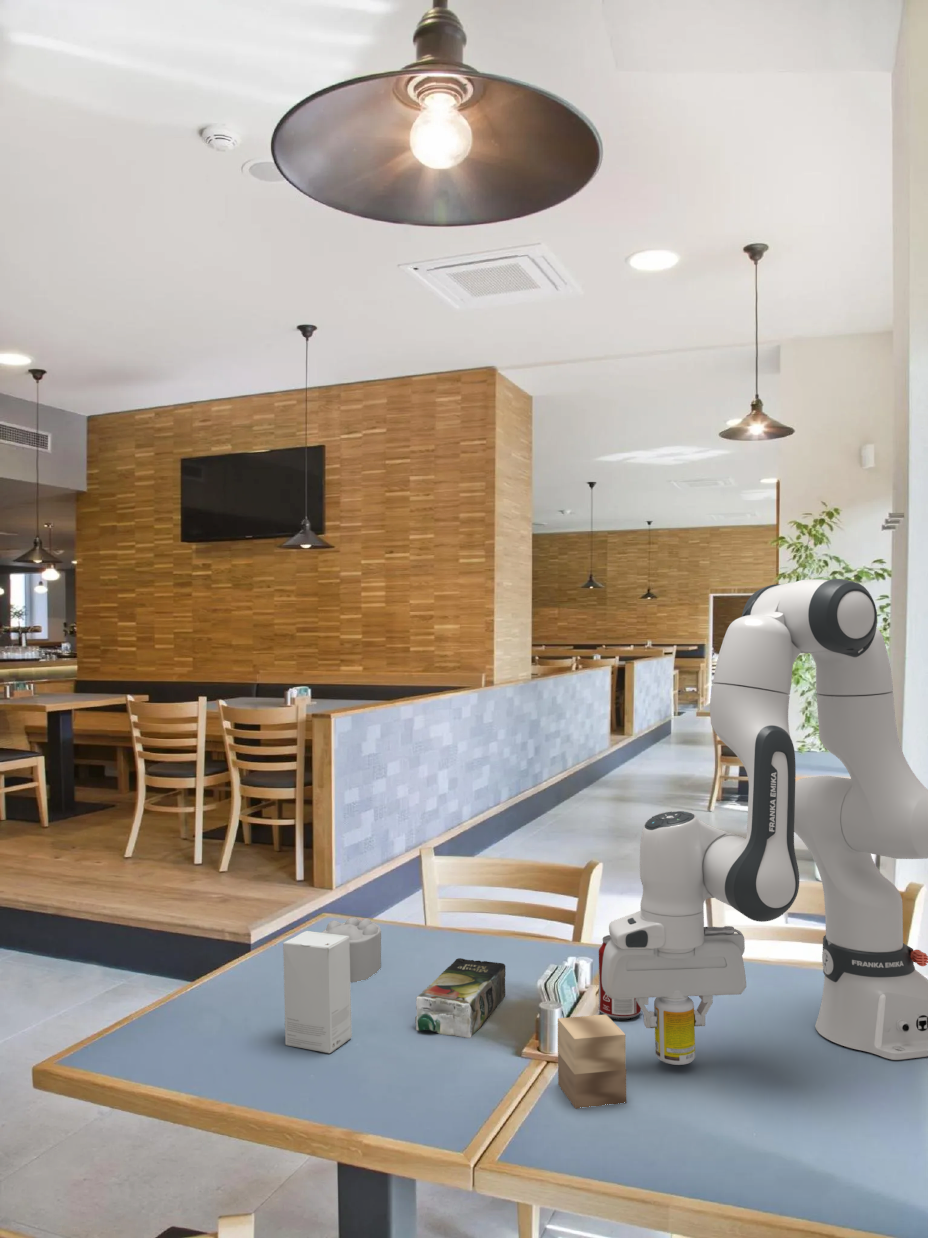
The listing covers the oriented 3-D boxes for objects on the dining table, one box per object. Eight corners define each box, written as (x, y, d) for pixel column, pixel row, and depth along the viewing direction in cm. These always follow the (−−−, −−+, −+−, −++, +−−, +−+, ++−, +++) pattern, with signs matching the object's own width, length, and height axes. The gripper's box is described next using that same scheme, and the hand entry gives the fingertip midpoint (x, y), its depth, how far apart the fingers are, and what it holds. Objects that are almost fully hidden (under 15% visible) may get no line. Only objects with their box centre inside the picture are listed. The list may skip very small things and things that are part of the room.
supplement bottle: (703, 1060, 133) (702, 987, 133) (674, 1070, 130) (672, 995, 130) (675, 1046, 137) (674, 976, 138) (647, 1055, 135) (645, 983, 135)
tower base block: (606, 1080, 129) (606, 1047, 130) (626, 1104, 123) (626, 1069, 123) (558, 1085, 128) (558, 1052, 128) (575, 1110, 121) (575, 1074, 121)
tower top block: (606, 1047, 130) (606, 1014, 130) (625, 1069, 123) (625, 1034, 123) (557, 1052, 128) (557, 1018, 128) (574, 1074, 121) (574, 1039, 121)
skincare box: (352, 1039, 142) (353, 935, 143) (328, 1056, 136) (329, 948, 137) (306, 1030, 146) (307, 928, 146) (280, 1046, 140) (282, 940, 140)
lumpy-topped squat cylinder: (310, 978, 169) (311, 929, 170) (341, 956, 182) (341, 910, 182) (363, 984, 166) (364, 935, 167) (391, 961, 179) (391, 915, 179)
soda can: (640, 1024, 149) (640, 947, 149) (597, 1020, 150) (597, 944, 151) (641, 1008, 155) (640, 934, 156) (599, 1005, 157) (599, 932, 157)
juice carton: (471, 1043, 142) (471, 1001, 142) (411, 1035, 145) (411, 994, 145) (508, 998, 161) (508, 962, 161) (453, 992, 164) (453, 956, 164)
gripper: (736, 919, 138) (738, 1014, 137) (598, 923, 137) (600, 1019, 136) (751, 932, 131) (754, 1032, 131) (606, 937, 130) (608, 1037, 130)
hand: (674, 1026), depth 134 cm, fingers closed on supplement bottle, 5 cm apart
